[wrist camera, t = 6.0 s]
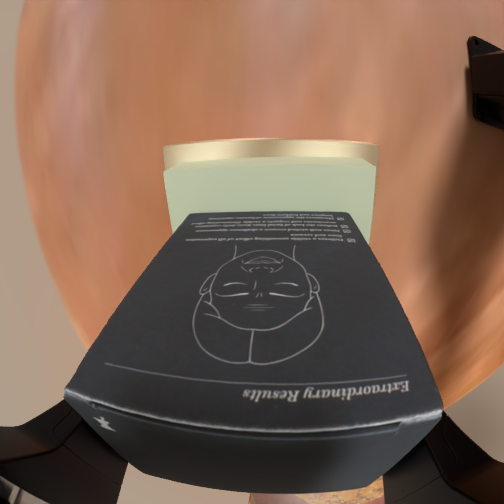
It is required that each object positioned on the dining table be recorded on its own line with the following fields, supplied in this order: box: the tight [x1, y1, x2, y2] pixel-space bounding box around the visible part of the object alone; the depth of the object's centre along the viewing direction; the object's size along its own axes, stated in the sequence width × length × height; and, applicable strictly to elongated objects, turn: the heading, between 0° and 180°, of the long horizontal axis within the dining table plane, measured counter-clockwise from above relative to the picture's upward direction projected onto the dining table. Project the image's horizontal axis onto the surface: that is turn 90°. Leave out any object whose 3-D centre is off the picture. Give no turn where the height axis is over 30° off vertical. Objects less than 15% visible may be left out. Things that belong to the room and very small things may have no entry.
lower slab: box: [163, 138, 379, 242], centre depth 18 cm, size 12×12×2 cm
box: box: [64, 211, 443, 494], centre depth 10 cm, size 8×6×11 cm
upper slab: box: [163, 157, 376, 245], centre depth 16 cm, size 10×10×2 cm
